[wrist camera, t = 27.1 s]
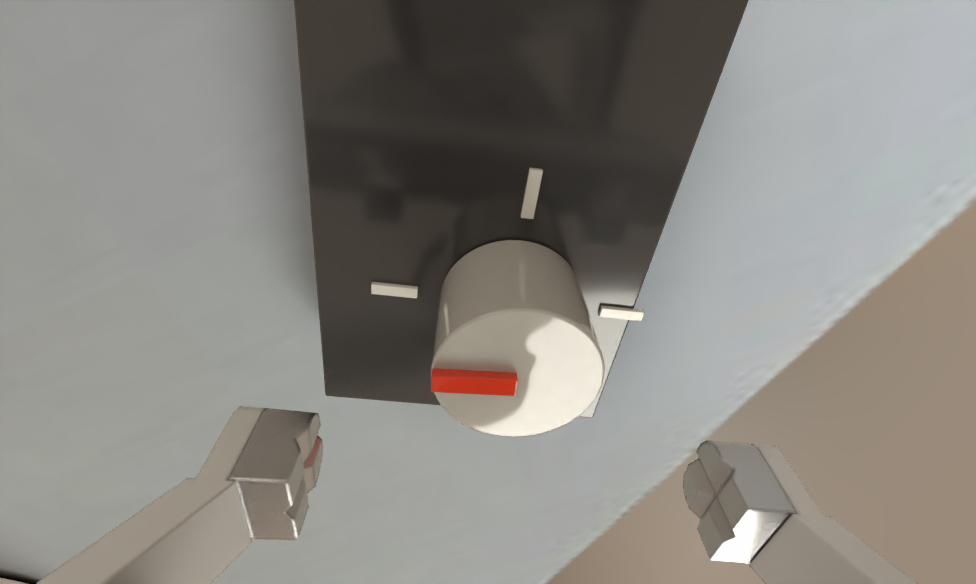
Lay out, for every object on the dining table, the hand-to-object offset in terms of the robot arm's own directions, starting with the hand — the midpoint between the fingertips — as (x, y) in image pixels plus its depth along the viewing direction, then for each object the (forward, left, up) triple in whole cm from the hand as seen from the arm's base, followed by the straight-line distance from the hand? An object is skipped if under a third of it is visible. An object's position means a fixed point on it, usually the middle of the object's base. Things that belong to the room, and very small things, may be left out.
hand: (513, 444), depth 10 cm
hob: (+2, +1, -9) cm, 9 cm away
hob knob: (0, 0, -6) cm, 6 cm away
